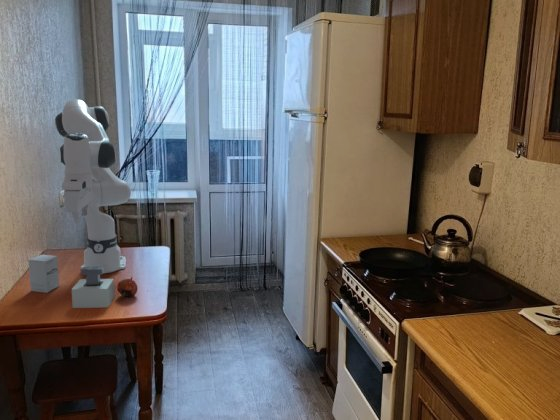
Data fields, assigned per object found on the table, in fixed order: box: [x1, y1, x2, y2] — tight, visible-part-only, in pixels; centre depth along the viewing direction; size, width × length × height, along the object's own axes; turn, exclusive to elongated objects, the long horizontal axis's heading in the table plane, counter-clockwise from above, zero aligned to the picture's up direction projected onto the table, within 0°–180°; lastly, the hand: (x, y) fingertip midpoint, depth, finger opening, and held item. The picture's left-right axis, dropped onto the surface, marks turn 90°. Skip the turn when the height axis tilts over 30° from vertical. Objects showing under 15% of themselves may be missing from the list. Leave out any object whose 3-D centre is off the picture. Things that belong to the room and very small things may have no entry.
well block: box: [71, 278, 116, 309], centre depth 169 cm, size 10×12×7 cm
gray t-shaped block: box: [80, 267, 105, 287], centre depth 169 cm, size 3×7×12 cm, turn 97°
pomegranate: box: [116, 277, 138, 301], centre depth 175 cm, size 7×7×10 cm
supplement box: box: [28, 254, 60, 293], centre depth 180 cm, size 7×7×13 cm
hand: (81, 218), depth 167 cm, fingers open, 8 cm apart
